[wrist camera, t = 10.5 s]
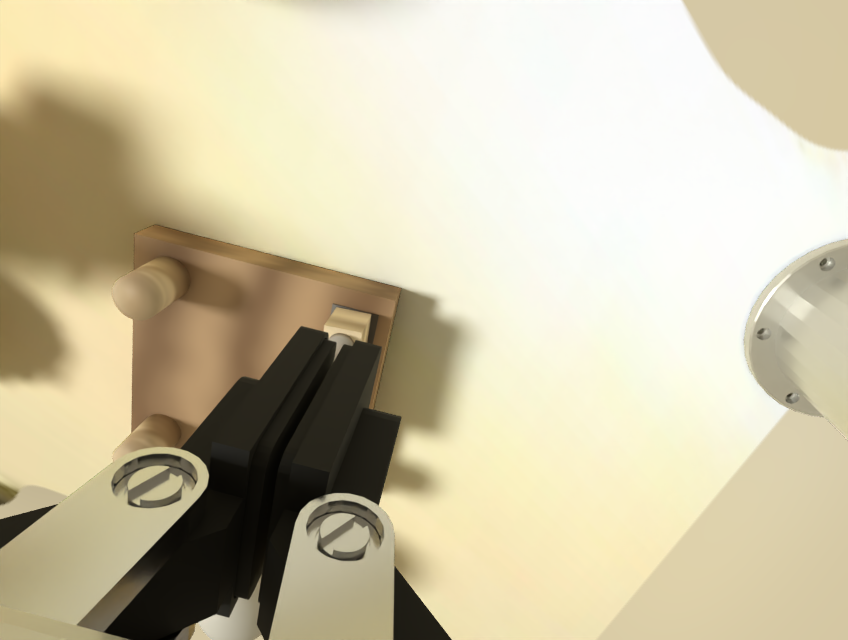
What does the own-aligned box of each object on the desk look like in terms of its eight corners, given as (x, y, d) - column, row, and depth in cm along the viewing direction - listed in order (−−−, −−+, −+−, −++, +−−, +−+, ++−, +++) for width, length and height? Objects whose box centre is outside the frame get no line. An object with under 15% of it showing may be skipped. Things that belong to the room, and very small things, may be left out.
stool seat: (401, 288, 39) (385, 325, 34) (356, 483, 47) (336, 542, 41) (154, 224, 40) (95, 250, 34) (148, 429, 47) (99, 480, 41)
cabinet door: (336, 307, 37) (321, 329, 34) (371, 314, 37) (360, 337, 34) (322, 426, 41) (308, 456, 38) (354, 432, 41) (342, 463, 38)
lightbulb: (307, 554, 51) (262, 672, 41) (242, 542, 51) (181, 655, 41) (311, 502, 48) (264, 614, 38) (242, 489, 48) (177, 596, 38)
